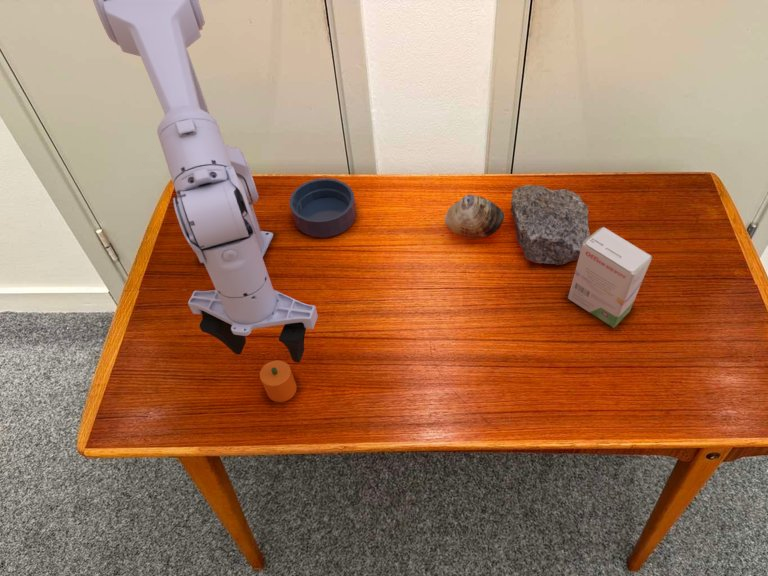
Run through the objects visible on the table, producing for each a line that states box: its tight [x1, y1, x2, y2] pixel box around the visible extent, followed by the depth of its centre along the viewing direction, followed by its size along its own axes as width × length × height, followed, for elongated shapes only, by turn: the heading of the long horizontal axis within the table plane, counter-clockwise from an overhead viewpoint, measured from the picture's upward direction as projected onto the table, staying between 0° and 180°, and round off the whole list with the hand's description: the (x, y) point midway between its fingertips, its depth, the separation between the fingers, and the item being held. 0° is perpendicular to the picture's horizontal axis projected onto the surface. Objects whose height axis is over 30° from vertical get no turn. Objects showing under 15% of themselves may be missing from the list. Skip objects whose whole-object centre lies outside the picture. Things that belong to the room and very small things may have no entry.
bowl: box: [289, 177, 358, 238], centre depth 104 cm, size 10×10×4 cm
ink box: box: [567, 226, 653, 329], centre depth 90 cm, size 9×5×12 cm, turn 47°
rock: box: [510, 184, 591, 266], centre depth 101 cm, size 13×6×15 cm
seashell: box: [444, 194, 505, 240], centre depth 100 cm, size 10×6×8 cm, turn 87°
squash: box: [259, 359, 298, 403], centre depth 84 cm, size 4×4×5 cm
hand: (269, 351), depth 79 cm, fingers open, 7 cm apart
